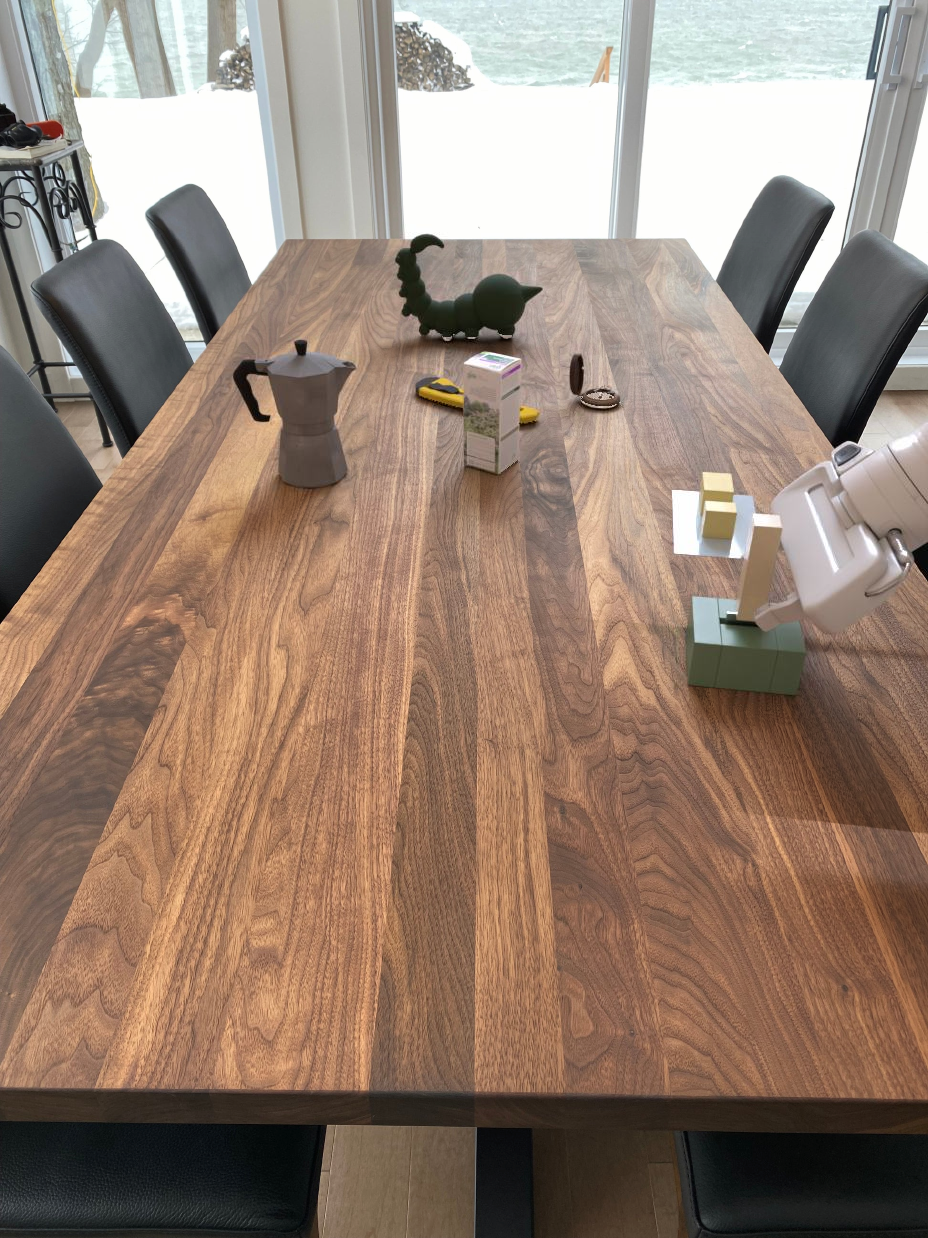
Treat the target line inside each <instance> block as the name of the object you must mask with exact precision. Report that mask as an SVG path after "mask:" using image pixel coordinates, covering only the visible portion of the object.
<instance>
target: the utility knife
mask: <svg viewBox="0 0 928 1238" xmlns="http://www.w3.org/2000/svg"><path fill="white" fill-rule="evenodd" d="M414 388H415V394H417V395H418V396H419V397H421V396H422V397H421V398H423V397H424V399H426V398H428V399H427V400H430V401H433V400H434V402H436V401H438V402H437V403H439V402H442V403H441V404H443V403H445V404H444V405H446V404H450V405H452V406H451V407H453V406H458V407H462V408H463V388H461V387H459V386H457V385H455V384H454V383H453V382H452V381H450V380H449V379H448V378H445V377H438V376H432V377H431V376H429V377H424V378H422V379H420V380H418V381H417V382H415V387H414ZM431 399H432V400H431ZM450 405H449V406H450ZM538 415H539V416H540V410H538V409H536V408H533V407H529V406H525V405H521V404H520V420H519V423H521V424H520V425H523V424H522V423H524V424H528V423H527V422H531V421H535V420H536V419H537V417H538ZM538 418H539V417H538ZM537 420H538V419H537ZM537 420H536V421H537ZM536 421H535V422H536ZM531 423H532V422H531Z"/></svg>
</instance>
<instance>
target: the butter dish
mask: <svg viewBox="0 0 928 1238" xmlns="http://www.w3.org/2000/svg"><path fill="white" fill-rule="evenodd" d="M699 492H700V491H692V490H691V491H690V490H678V489H671V500H672V501H671V503H672V528H673V529H672V530H673V531H672V533H673V554H674V555H688V556H698V557H710V558H711V557H713V558H723V559H736V560H737V559H739V560H740V557H741V556H742V555H743V554H744V553H745V550H746V545H747V539H748V534H749V529H750V523H751V518H752V514H753V513H754V514H757V512H756V507H755V501H754V496H753V495H748V494H747V495H746V494H734V496H733V502H732V503H736V509H737V517H736V522H735V528H734V534H733V539H722V538H709V537H702V532H701V524H702V518H703V516H700V507H699Z"/></svg>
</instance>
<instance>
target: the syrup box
mask: <svg viewBox="0 0 928 1238" xmlns="http://www.w3.org/2000/svg"><path fill="white" fill-rule="evenodd" d="M462 364H463V365H462V372H463V375H462V378H463V379H462V380H463V383H462V387H463V388H462V389H463V409H462V411H463V414H462V415H463V417H462V419H463V465H464V466H466V467H470V468H473V469H477V470H480V469H481V470H480V471H483V470H484V471H483V472H486V473H487V472H488V473H490V474H494V475H500V474H502V473H504V472H505V471H506V470H507V468H508V467H509V466H510V467H512V466H513V465H514V464H516V463H517V462H518V461H519V459H520V424H519V420H520V405H521V392H522V391H521V390H522V388H521V387H522V358H518V357H514V356H510V355H505V354H500V353H495V352H490V351H481V352H480V353H477V354H475V355H474V356H472V357H470V358H469V359H467V360H466V361H464V362H463V363H462ZM517 460H518V461H517ZM516 461H517V462H516ZM515 462H516V463H515ZM513 463H514V464H513ZM512 464H513V465H512ZM511 465H512V466H511ZM510 467H509V468H510ZM509 468H508V469H509ZM505 469H506V470H505ZM504 470H505V471H504ZM503 471H504V472H503ZM501 472H502V473H501Z"/></svg>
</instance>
